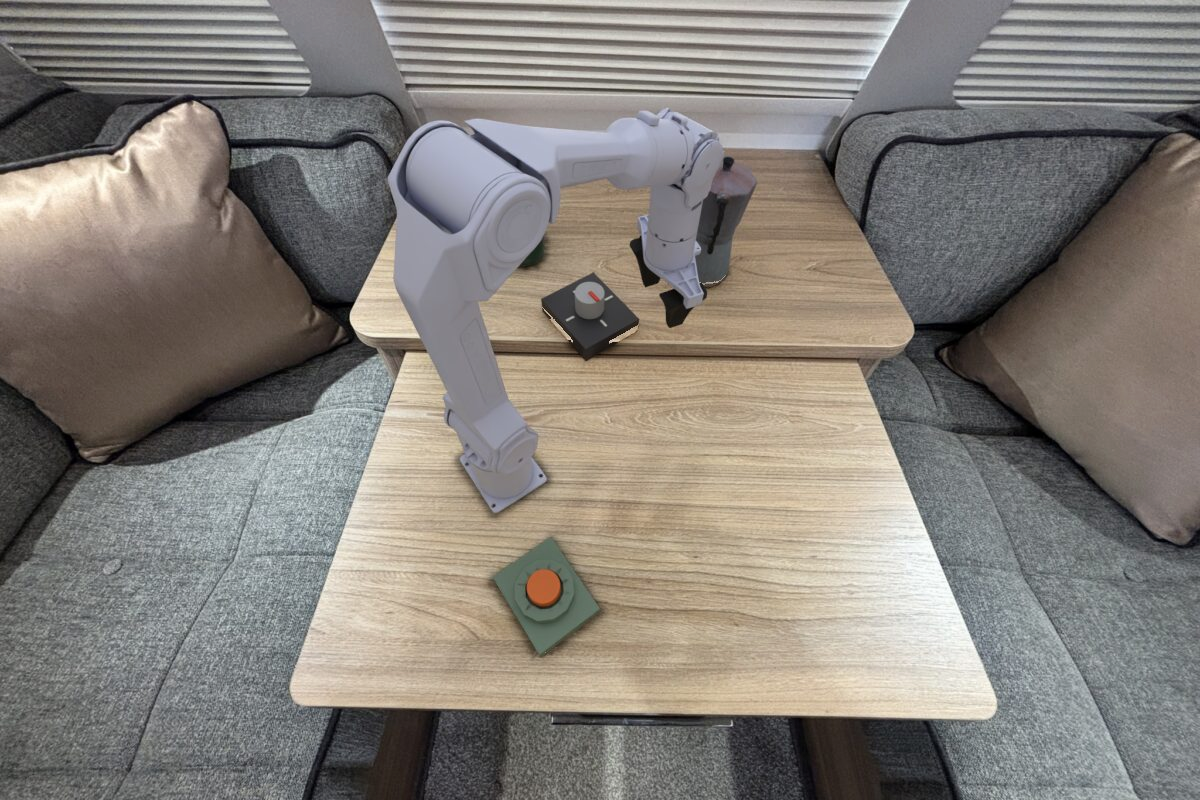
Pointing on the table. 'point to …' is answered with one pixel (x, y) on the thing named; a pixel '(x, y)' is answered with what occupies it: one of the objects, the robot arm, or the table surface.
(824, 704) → the table surface
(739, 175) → the moka pot
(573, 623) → the base
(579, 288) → the temp dial
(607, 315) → the dial panel
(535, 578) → the power button
